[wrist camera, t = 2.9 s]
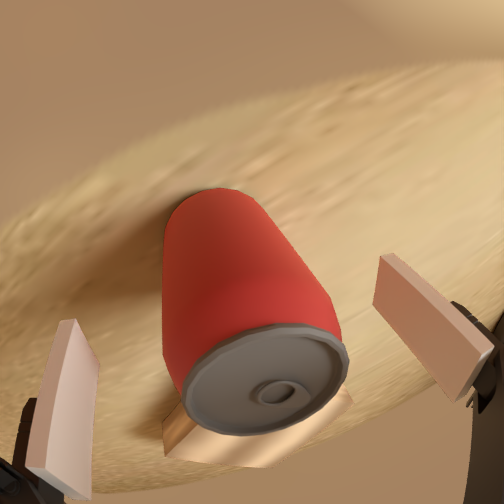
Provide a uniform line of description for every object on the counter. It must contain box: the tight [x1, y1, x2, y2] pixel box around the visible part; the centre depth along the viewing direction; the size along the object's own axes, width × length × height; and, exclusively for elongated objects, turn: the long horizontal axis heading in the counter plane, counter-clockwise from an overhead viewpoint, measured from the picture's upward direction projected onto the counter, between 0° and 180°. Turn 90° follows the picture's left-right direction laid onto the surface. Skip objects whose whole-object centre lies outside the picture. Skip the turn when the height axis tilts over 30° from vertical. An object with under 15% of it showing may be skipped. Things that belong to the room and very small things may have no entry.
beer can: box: [162, 188, 349, 437], centre depth 14 cm, size 7×7×12 cm
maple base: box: [162, 384, 355, 468], centre depth 27 cm, size 13×13×4 cm
